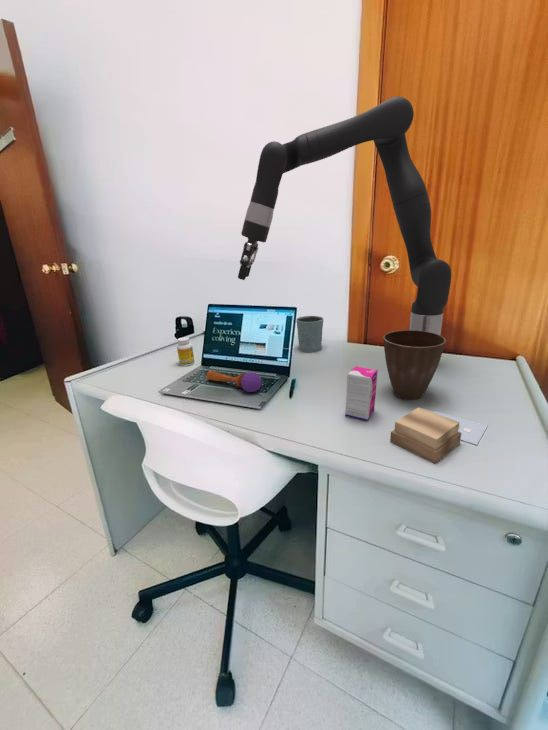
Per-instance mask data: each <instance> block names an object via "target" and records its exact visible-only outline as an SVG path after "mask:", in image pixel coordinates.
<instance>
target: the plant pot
mask: <svg viewBox="0 0 548 730" xmlns="http://www.w3.org/2000/svg"><path fill="white" fill-rule="evenodd" d="M446 342H447V341H446V338H445V337H444V336H442V335H441V336H440V335H438V334H435V333H431V332H426V331H417V330H410V329H404V330H403V329H402V330H401V329H400V330H394V331H389V332H387V333H385V334H384V335H383V348H384V350H383V351H384V356H385V357H384V358H385V363H386V364H385V365H386V369H387V374H388V378H389V382H390V386H391V387H392V391H393V394H394V395H395V396H396V397H398V398H401V399H404V400H405V399H406V400H419V399H421V398H422V397H423V396H424V394H425V392H426V391H427V388H428V387H429V386H430V383H431V382H432V380H433V378H434V375H435V373H436V371H437V370H438V369H437V368H438V366H439V363H440V360H441V358H442V355H443V351H444V349H445V346H446Z"/></svg>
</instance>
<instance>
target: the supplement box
mask: <svg viewBox="0 0 548 730" xmlns="http://www.w3.org/2000/svg"><path fill="white" fill-rule="evenodd" d="M346 378H347V380H346V398H345V417H348V418H353V419H356V420H361V421H365V422H368V421H369V419H370V417H371V416H372V414H373V413H374V412H375V406H376V393H377V381H378V370H377V369H373V368H367V367H362V366H357V365H356V366H354V367H353V368H352V369H351V370H350V371H349V372H348V373H347V376H346Z"/></svg>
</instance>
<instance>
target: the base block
mask: <svg viewBox="0 0 548 730" xmlns="http://www.w3.org/2000/svg"><path fill="white" fill-rule="evenodd" d="M459 423H460V422H457V421H454V420H452V419H449V418H446V417H444V416H441V415H438V414H436V413H433V412H431V411H430V410H429V409H425V408H422V407H419V406H418V407H417V408H415V409H414V410H412V411H411V412H409V413H406V414H405V415H404V416H402V417H400V418H398V419H397V420H396V421H394V429H393V430H392V431H390V436H389V437H390V439H389V442H390V443H392V444H393V445H396V446H398V447H400V448H401V449H402V448H403V450H406V451H408V452H411V453H413V454H414V455H417V456H419V457H421V458H423V459H425V460H427V461H429V462H431V463H433V464H436V463H437V462H439V461H440V460H441V459H442V458H444V457H445V456H446V455H447V454H448V453H450V452H451V451H452V450H454V448H456V447H457V446H458V445H459V444H461V440H460V439H461V433H460V432H458V429H459Z"/></svg>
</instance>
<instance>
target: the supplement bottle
mask: <svg viewBox="0 0 548 730" xmlns="http://www.w3.org/2000/svg"><path fill="white" fill-rule="evenodd" d="M177 343H178V344H177V345H176V349H177V355H178V362H179V365H180V366H181V367H188V366H193V364H195V356H194V355H195V354H194V350H193V344H192V343H191V341H190V338H189V337H188V336H187V337H185V336H184V337H179V338H178V339H177Z"/></svg>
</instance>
